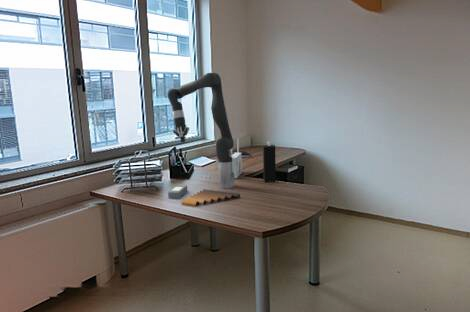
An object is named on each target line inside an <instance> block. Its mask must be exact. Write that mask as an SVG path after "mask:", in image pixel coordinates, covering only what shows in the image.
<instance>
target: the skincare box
mask: <svg viewBox="0 0 470 312" xmlns="http://www.w3.org/2000/svg"><path fill="white" fill-rule="evenodd" d="M230 156H231V157H232V166H233V172H234V178H236V179H238V178H239V176H240V175H241V174H242V171H243V169H242V162H243V160H242V159H243V158H242V153H237V152H236V153H234V154H233V155H230Z"/></svg>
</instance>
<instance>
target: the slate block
mask: <svg viewBox="0 0 470 312" xmlns="http://www.w3.org/2000/svg"><path fill="white" fill-rule="evenodd" d="M187 192H188V185H184V184H183V185H179V184H178V185H175V186H174V187H173V188H172V189H170V190H169V191H168V193H167V194H168V195H167V196H168V199H180V198H182V197H183V196H184V194H185V193H187Z"/></svg>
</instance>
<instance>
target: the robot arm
mask: <svg viewBox="0 0 470 312" xmlns="http://www.w3.org/2000/svg"><path fill="white" fill-rule="evenodd" d="M206 88H210V89H211V93H212V100H211V108H210V110H211V115H212V119H213V121H214V123H215V124H216V125H217V128H218V129H219V132H220V138H218V139H217V140H216V143H215V151H216V158H217V161H218V162H217V163H218V179H219V180H218V181H219V188H220V189H232V188H234V187H235V179H234V172H233V166H232V157H231V156H232V155H230V154H229V153H230V152H229V151H230V150H231V149H232V148H233V149H234V145H235V143H234V138H233V135H232V132H231V128H230V125H229V119H228V114H227V109H226V104H225V100H224V95H223V86H222V78H221V76H220V74H219V73H217V72H207V73H205V74H204V75H202V76H201V77H199V78H197V79H195V80H193V81H190V82H188V83H186V84H182V85H181V86H179V88H170V89H168V90H167V98H168V100H169V103H170V105H171V110H172V117H173V122H174V125H175V127H174V130H172V133H174V134H175V136H176V137H177V138H179V139H180V142H181V143H185V142H186V136H188V133H189V130H190V127H188V126H187V124H186V118H185V113H184V109H183V104H182V102H181V101H180V99H183V98H185V96H188V95H190V94H193V93H195V92H197V91H198V90H201V89H206Z"/></svg>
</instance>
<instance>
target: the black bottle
mask: <svg viewBox="0 0 470 312" xmlns="http://www.w3.org/2000/svg"><path fill="white" fill-rule="evenodd" d="M271 142H272V140H270V141H269V140H268V141H266V144H262V164H263V165H262V166H263V181H265V182H264V183H268V182H267V181H273V182H272V183H274V182H275V183H276V182H277V181H276V179H277V175H276V173H277V171H276V170H277V169H276V165H277V163H276V146H275V144H271Z"/></svg>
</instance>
